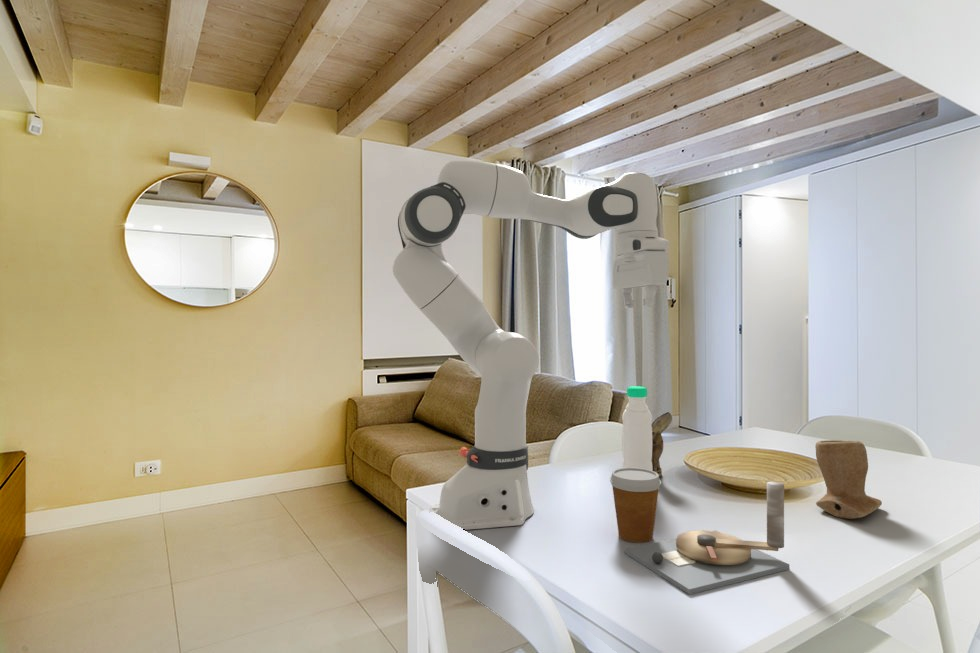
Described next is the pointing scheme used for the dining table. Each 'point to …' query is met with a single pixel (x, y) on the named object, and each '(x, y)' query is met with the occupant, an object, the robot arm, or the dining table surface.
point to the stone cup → (845, 478)
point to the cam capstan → (731, 548)
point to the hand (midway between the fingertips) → (638, 307)
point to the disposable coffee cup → (635, 502)
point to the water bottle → (637, 430)
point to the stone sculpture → (659, 440)
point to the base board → (701, 567)
